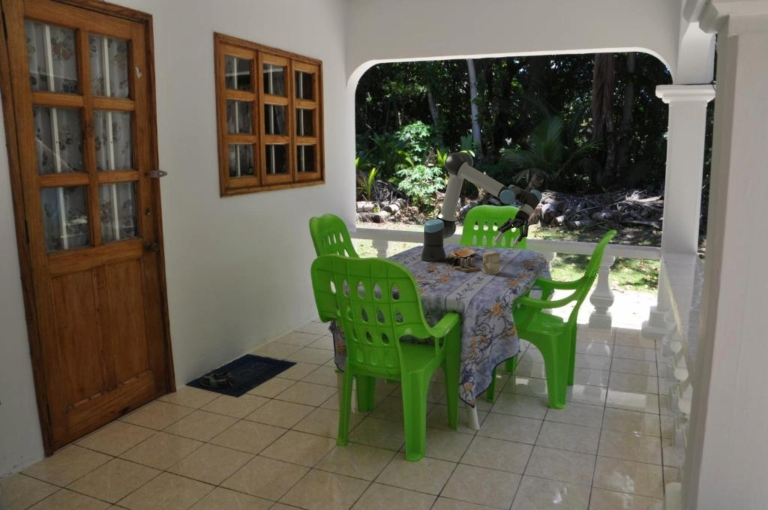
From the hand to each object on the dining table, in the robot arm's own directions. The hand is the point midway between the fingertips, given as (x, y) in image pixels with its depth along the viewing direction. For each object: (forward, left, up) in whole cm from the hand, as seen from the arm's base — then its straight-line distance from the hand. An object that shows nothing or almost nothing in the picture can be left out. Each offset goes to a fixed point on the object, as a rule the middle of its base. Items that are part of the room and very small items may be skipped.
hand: (505, 243), depth 344 cm
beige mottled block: (0, -10, -15) cm, 18 cm away
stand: (-13, -15, -15) cm, 25 cm away
